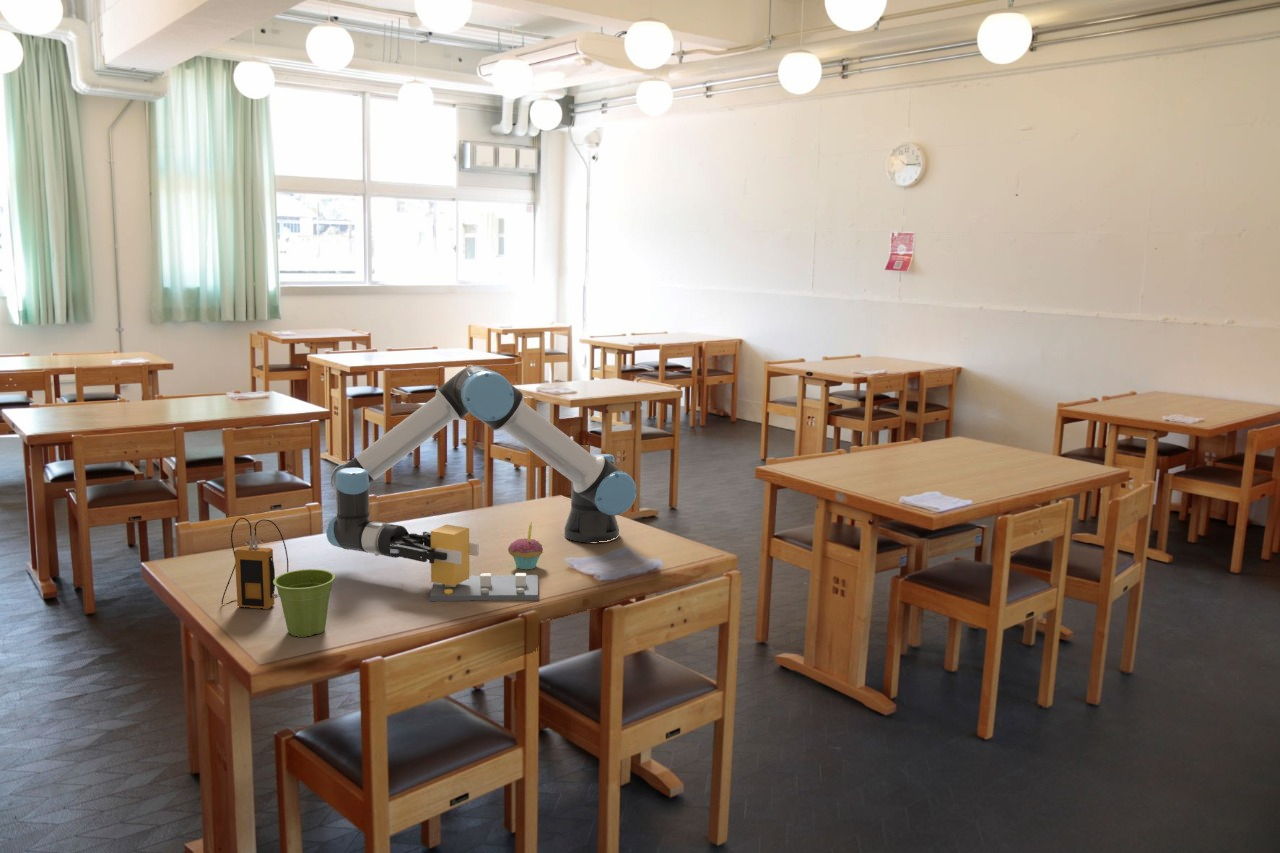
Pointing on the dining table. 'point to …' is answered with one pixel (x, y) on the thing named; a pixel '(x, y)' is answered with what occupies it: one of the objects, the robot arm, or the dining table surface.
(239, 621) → the dining table surface
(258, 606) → the multimeter
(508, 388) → the robot arm
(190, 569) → the dining table surface
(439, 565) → the cap
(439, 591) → the board
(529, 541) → the cupcake
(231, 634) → the dining table surface
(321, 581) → the plant pot
